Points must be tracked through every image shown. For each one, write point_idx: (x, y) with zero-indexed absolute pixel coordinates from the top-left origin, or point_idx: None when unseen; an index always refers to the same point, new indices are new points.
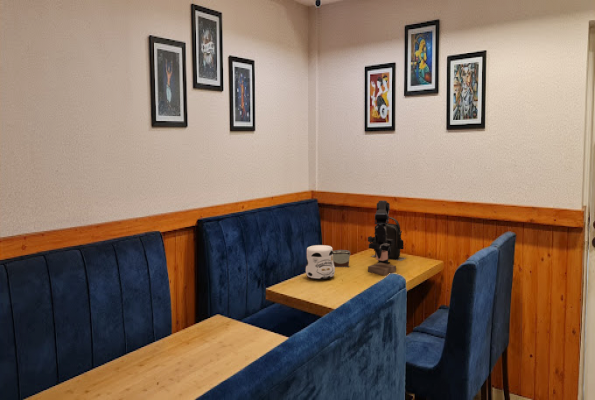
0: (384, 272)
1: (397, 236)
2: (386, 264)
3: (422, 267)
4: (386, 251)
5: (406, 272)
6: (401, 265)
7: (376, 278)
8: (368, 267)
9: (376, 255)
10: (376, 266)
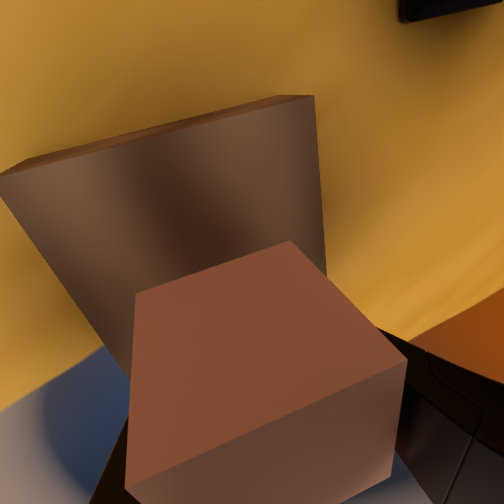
0: None
1: None
2: (300, 232)
3: (478, 273)
4: (361, 488)
5: None
6: (468, 154)
7: (20, 387)
8: (4, 185)
9: (137, 373)
10: (132, 252)
